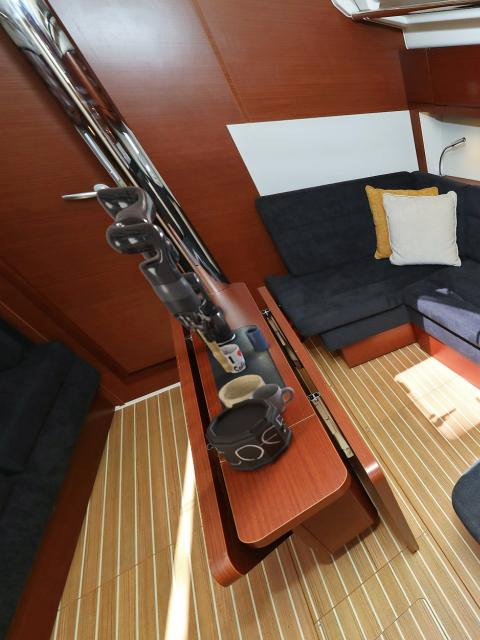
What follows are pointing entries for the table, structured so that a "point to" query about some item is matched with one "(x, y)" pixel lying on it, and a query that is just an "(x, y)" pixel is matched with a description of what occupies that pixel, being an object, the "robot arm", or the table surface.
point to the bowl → (239, 389)
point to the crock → (256, 339)
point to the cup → (234, 357)
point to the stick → (218, 354)
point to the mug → (273, 395)
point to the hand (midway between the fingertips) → (209, 340)
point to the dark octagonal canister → (249, 434)
